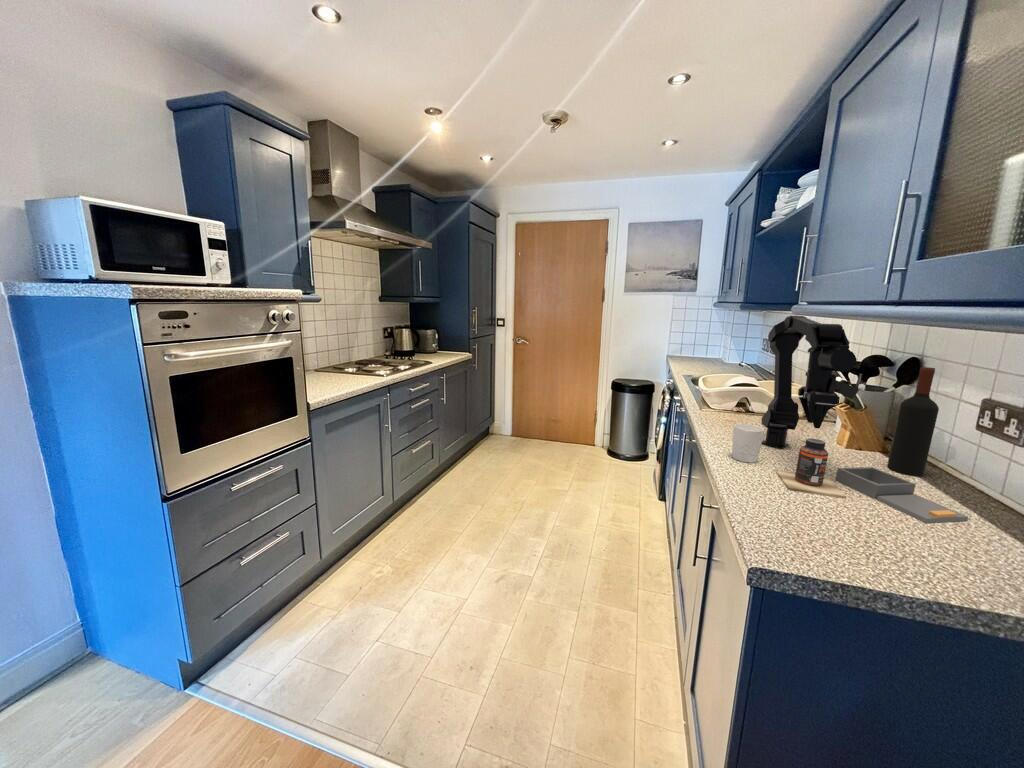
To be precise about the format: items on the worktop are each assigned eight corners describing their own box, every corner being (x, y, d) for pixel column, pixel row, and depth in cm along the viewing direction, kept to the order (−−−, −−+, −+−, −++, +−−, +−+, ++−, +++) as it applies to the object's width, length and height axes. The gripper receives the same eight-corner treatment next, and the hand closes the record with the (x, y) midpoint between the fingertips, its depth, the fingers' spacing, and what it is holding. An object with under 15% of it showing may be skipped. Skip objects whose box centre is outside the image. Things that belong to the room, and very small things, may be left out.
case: (835, 480, 108) (837, 468, 107) (870, 479, 109) (872, 467, 109) (925, 522, 87) (929, 508, 86) (967, 520, 88) (971, 506, 88)
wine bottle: (892, 472, 114) (915, 368, 108) (883, 463, 121) (904, 364, 115) (928, 478, 111) (954, 370, 105) (917, 469, 117) (940, 367, 112)
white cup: (751, 454, 126) (756, 424, 124) (764, 464, 118) (769, 431, 116) (725, 453, 126) (729, 422, 125) (736, 463, 119) (741, 430, 117)
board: (775, 471, 113) (775, 469, 113) (826, 479, 109) (827, 476, 109) (788, 489, 102) (788, 487, 102) (845, 498, 98) (846, 496, 98)
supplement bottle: (822, 489, 101) (830, 446, 99) (793, 482, 105) (800, 440, 103) (823, 481, 106) (830, 440, 104) (795, 475, 109) (802, 435, 107)
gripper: (869, 373, 99) (860, 436, 101) (848, 370, 115) (840, 423, 117) (813, 370, 104) (806, 429, 106) (800, 367, 120) (794, 418, 122)
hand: (813, 425), depth 113 cm, fingers open, 9 cm apart
